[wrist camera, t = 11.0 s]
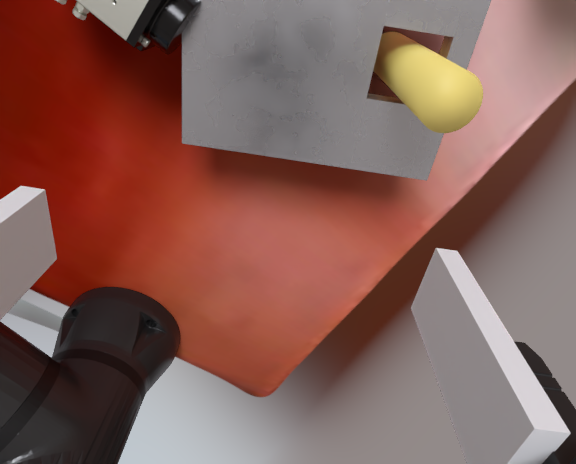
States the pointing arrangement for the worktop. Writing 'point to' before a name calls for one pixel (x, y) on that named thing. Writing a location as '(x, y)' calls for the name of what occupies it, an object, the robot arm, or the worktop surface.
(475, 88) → the pin
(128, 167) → the worktop surface
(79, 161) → the worktop surface
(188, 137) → the gray slab
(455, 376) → the robot arm
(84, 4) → the pneumatic valve
